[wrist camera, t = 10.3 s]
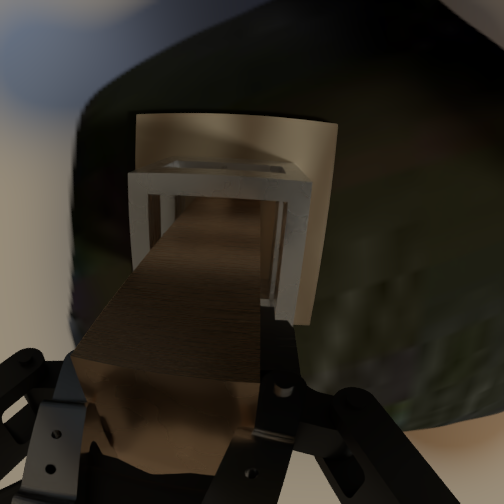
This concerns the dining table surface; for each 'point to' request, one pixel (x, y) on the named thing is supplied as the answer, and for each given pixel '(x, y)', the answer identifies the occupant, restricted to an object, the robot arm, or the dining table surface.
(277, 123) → the holder board
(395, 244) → the dining table surface
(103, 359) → the tan wooden post
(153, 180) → the collar frame
